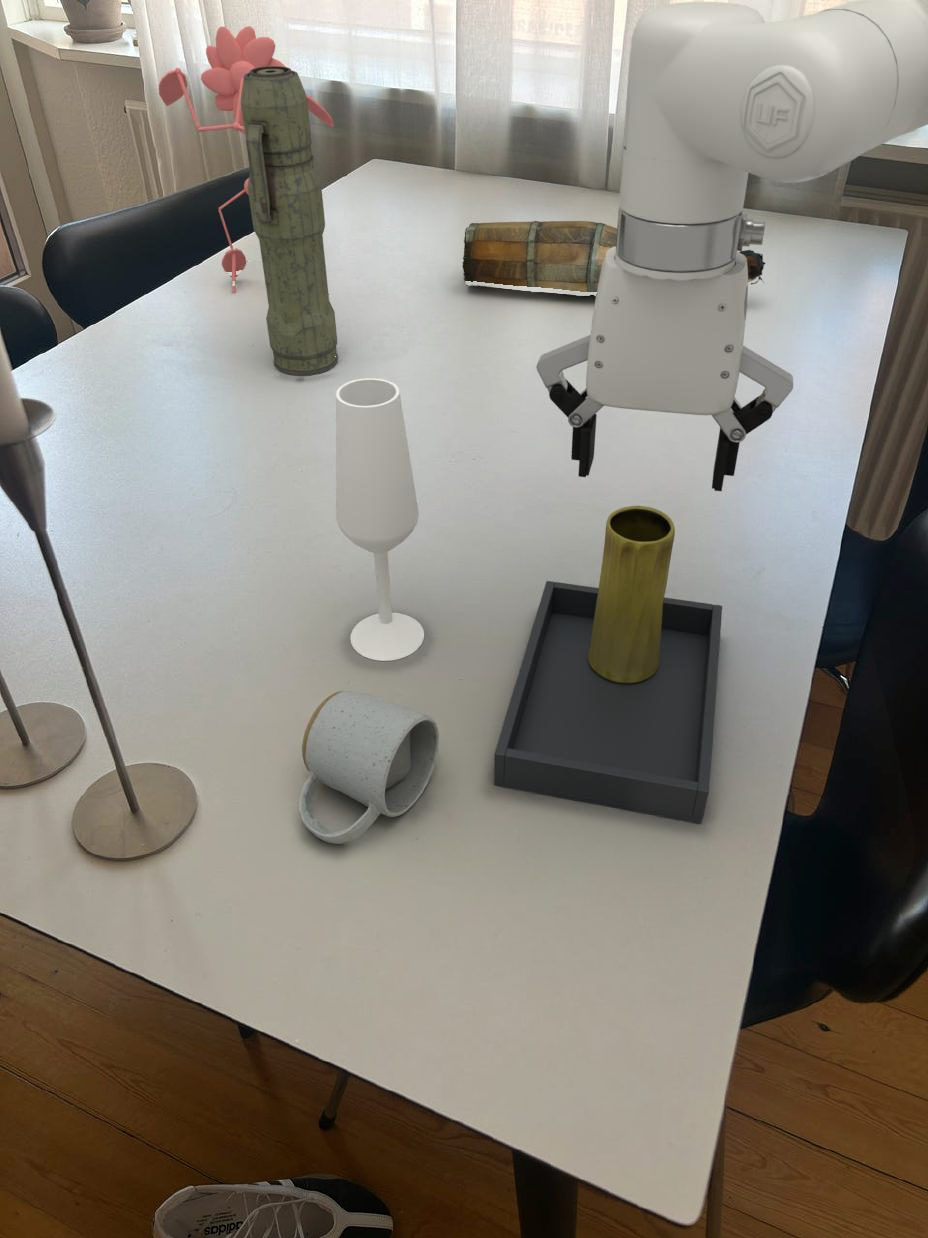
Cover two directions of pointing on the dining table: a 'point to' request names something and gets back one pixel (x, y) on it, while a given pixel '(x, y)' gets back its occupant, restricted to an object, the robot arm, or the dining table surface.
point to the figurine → (230, 96)
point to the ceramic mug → (366, 758)
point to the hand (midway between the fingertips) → (650, 474)
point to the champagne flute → (376, 502)
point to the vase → (631, 594)
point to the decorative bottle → (548, 254)
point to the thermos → (288, 221)
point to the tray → (613, 713)
